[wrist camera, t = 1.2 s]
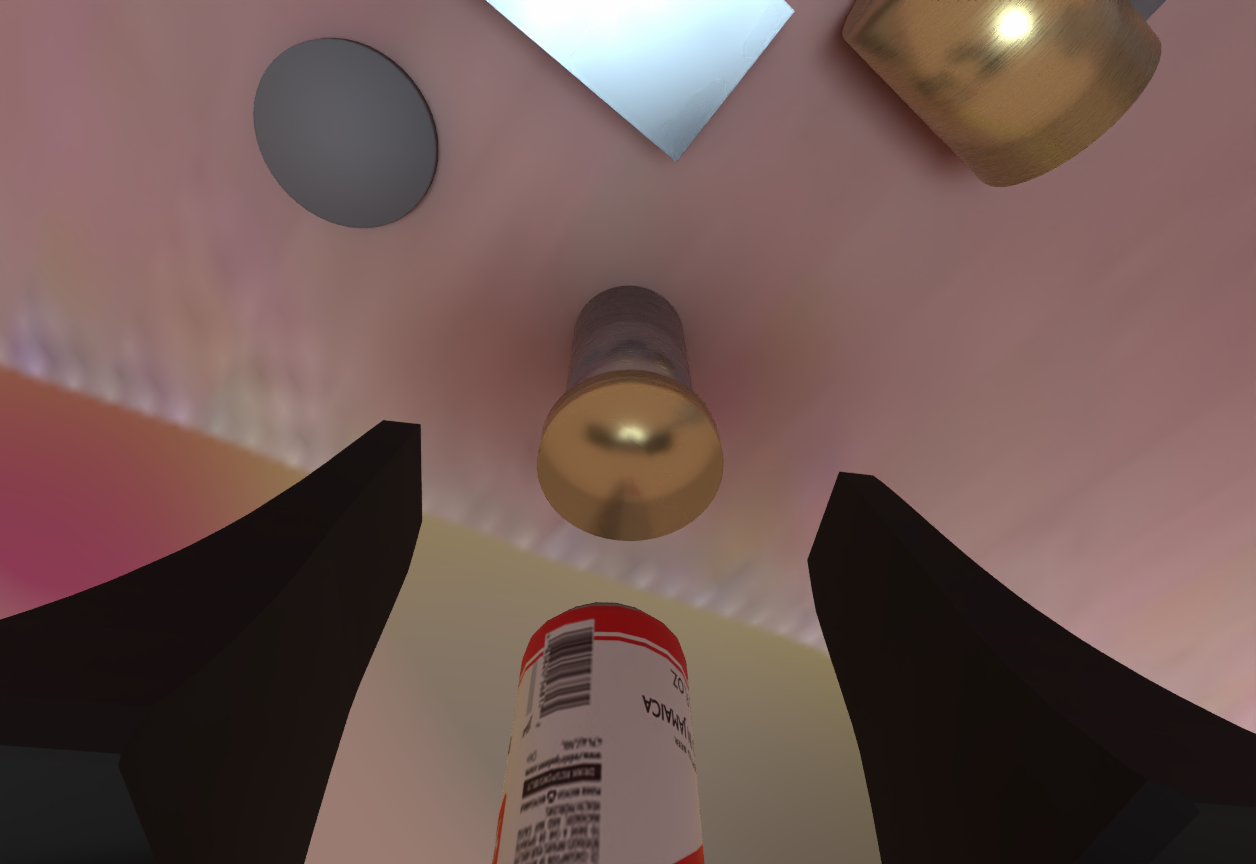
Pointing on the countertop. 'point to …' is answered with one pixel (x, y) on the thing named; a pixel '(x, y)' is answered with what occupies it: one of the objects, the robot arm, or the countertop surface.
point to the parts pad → (345, 132)
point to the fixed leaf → (1010, 73)
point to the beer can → (601, 746)
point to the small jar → (629, 424)
